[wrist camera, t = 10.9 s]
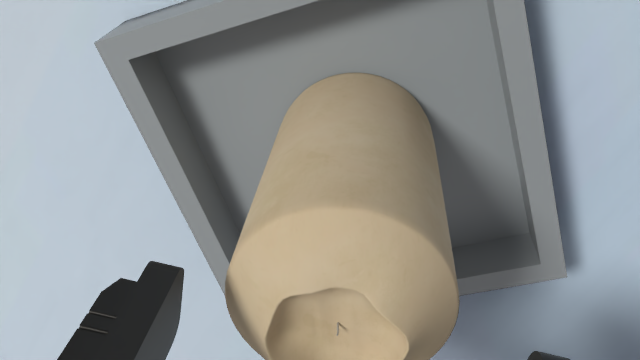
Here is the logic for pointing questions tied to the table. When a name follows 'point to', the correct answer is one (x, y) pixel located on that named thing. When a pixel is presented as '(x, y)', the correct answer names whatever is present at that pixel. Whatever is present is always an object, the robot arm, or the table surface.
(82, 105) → the table surface
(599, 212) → the table surface
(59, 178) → the table surface
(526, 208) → the tray
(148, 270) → the robot arm
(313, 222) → the candle
